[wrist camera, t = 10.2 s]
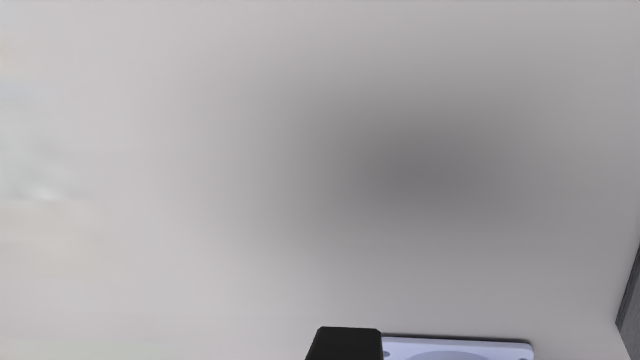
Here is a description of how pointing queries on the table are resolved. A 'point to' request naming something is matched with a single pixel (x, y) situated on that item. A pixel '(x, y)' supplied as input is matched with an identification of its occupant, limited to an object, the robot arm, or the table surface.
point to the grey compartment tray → (631, 313)
